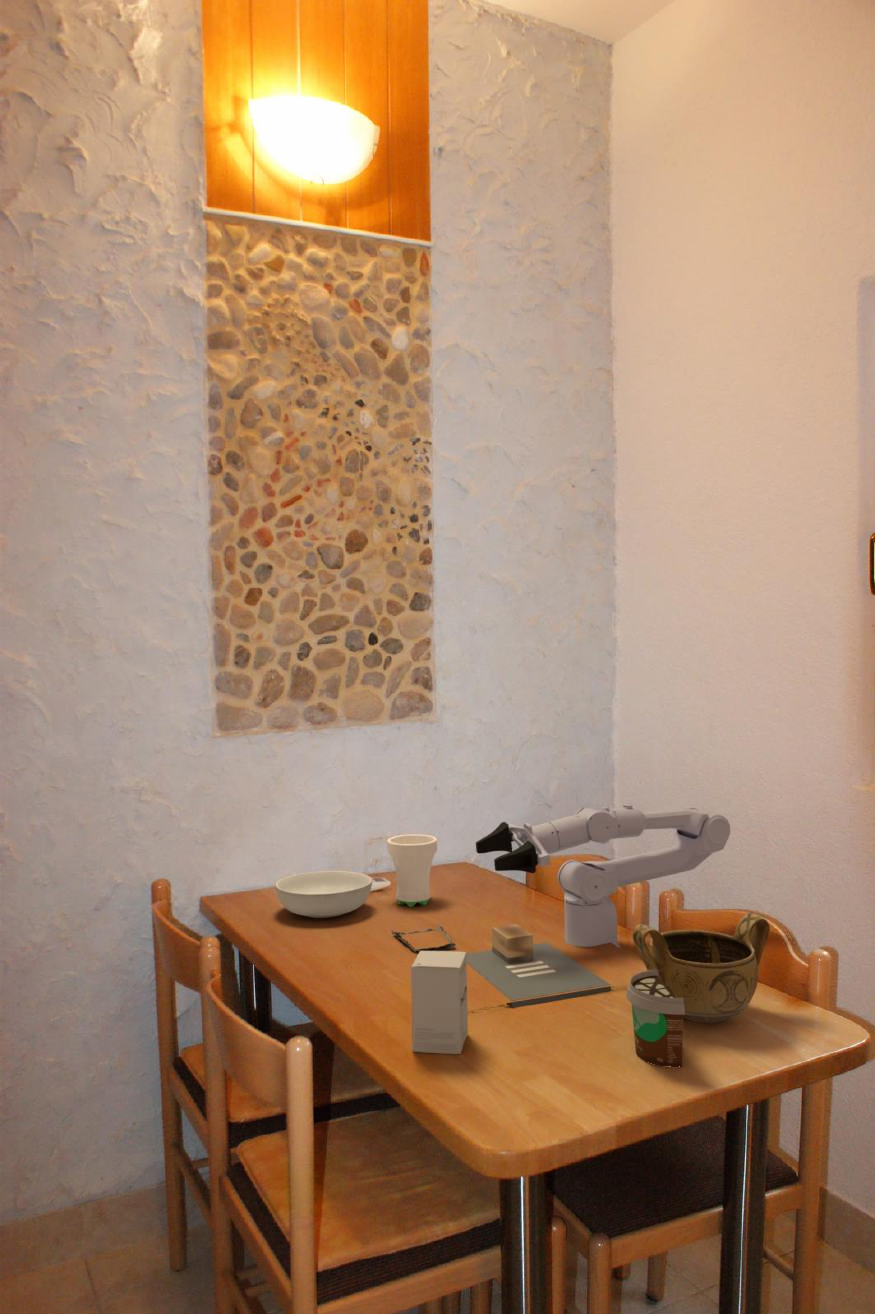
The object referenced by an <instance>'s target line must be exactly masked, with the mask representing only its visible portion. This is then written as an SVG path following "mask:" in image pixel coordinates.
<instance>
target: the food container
mask: <svg viewBox="0 0 875 1314" xmlns="http://www.w3.org/2000/svg"><path fill="white" fill-rule="evenodd" d="M625 998H626V999H627V1001H628V1002H629V1003H630V1004H631V1014H632V1025H633V1027H632V1028H633V1034H634V1036H633V1037H634V1045H635V1046H634V1047H635V1054H636V1056H637V1057H638V1058H639V1057H640V1058H641V1059H640V1058H639V1059H640V1060H642V1061H643V1060H644V1061H643V1062H645V1063H647V1062H649V1063H648V1064H650V1063H652V1064H651V1065H653V1064H655V1065H654V1066H657V1065H659V1066H658V1067H661V1066H671V1067H679V1066H680V1067H682V1068H683V1051H684V1050H683V1048H684V1047H683V1045H684V1044H683V1043H684V1042H683V1041H684V1018H683V1015H684V1014H685V1008H684V1000H683V998H676V997H675V995H674V994H673V992H672V990H671V989H670V987H669V986H667V985H666V984H664V983H663V982H662V981H661V980H660V979H659V977H658V970H649V971H647V970H646V971H641V972H638V973H636V974H634V975H633V976H632V977H631V978H630V979H629V982H628V985H627V990H626V994H625Z"/></svg>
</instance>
